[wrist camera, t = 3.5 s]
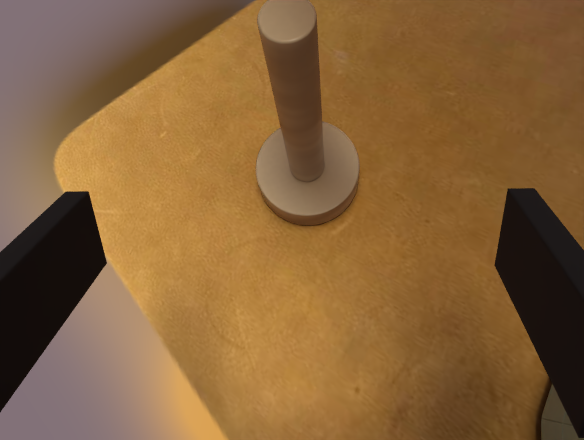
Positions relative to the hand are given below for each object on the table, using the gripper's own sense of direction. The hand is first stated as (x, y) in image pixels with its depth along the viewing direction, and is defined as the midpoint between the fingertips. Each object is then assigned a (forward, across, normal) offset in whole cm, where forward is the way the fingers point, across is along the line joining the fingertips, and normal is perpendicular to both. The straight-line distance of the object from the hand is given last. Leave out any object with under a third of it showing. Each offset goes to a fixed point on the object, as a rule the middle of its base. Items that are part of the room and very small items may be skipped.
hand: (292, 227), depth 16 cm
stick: (+15, 0, -5) cm, 15 cm away
